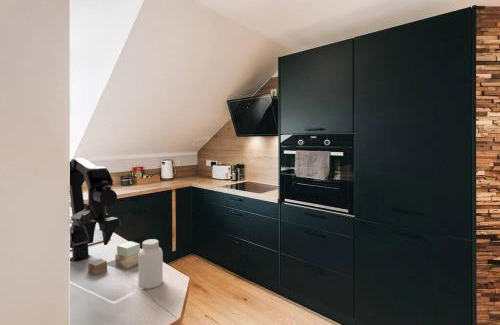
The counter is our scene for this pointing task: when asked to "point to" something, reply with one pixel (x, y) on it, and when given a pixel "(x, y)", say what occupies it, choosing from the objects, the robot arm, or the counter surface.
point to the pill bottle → (150, 264)
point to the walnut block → (97, 267)
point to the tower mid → (128, 249)
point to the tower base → (126, 260)
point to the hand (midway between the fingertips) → (97, 242)
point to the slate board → (112, 263)
